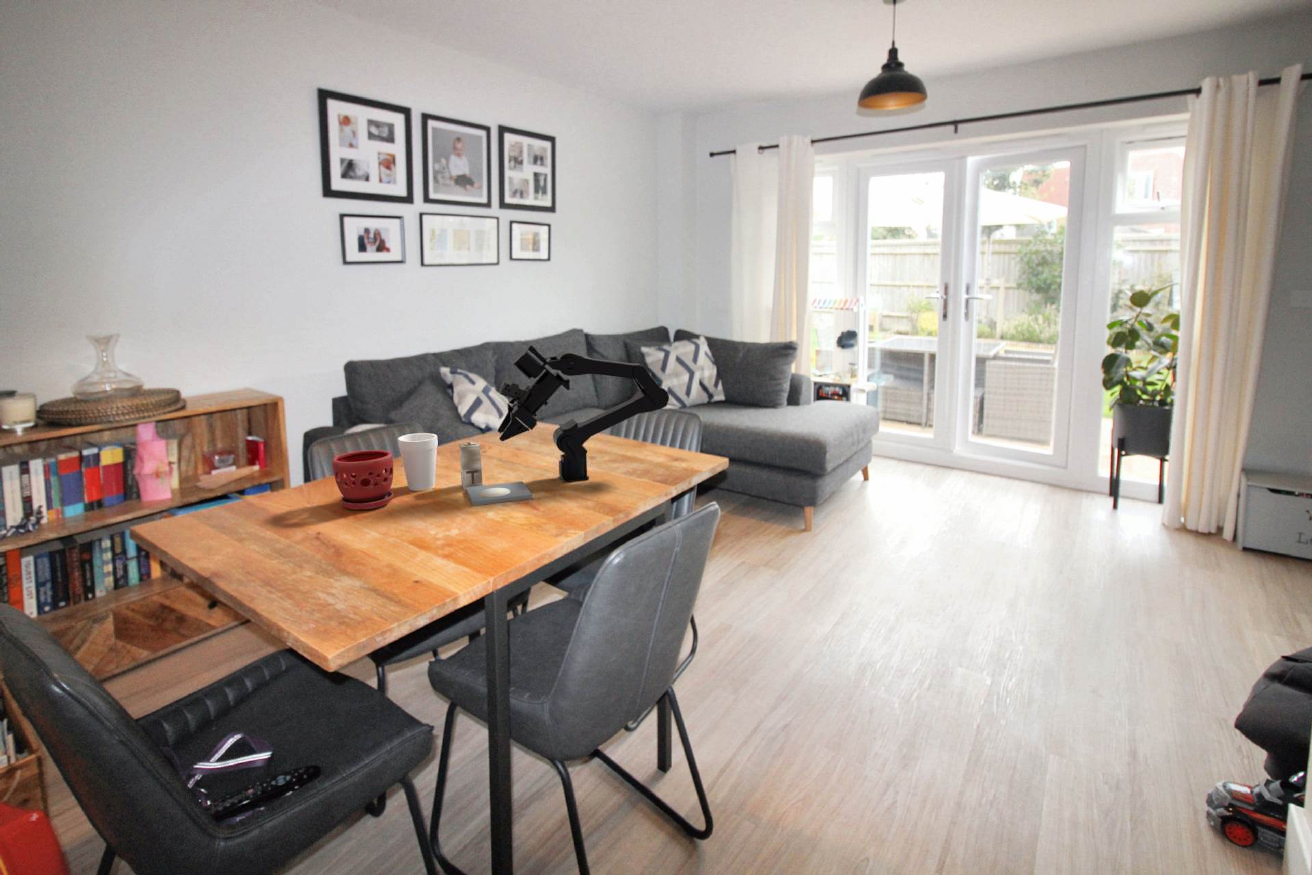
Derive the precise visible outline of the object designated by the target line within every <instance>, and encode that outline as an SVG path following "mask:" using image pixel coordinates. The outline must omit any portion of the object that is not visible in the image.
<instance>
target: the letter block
mask: <svg viewBox="0 0 1312 875" xmlns="http://www.w3.org/2000/svg"><path fill="white" fill-rule="evenodd" d="M458 448H459V461H460V462H459V464H460V478H461V487H462V489H463V490H465V491H466V487H475V486H484V485H483V472H482V471H483V470H482V455H481V454H482V453H481V445H480V443H479V442H478V441H467V442H465V441H464V442H459V443H458Z"/></svg>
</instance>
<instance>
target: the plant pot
mask: <svg viewBox="0 0 1312 875" xmlns="http://www.w3.org/2000/svg"><path fill="white" fill-rule="evenodd" d="M393 460H394V459H393V454H392V452H390V451H388V450H382V449H381V450H379V449H374V450H373V449H372V450H370V449H368V450H367V449H366V450H359V451H353V452H347V453H343V454H339V455H337V456H335V457H334V458H333V459H332V461H331V462H332V470H333V474H334V479H335V480H334V481H335V484H336V486H337V489H338V491H339V492H340V494H341V496H342V497H341V499H340V503H341V505H342V506H343V507H345V508H347V509H351V510H357V511H358V510H370V509H376V508H377V509H378V508H381V507H383V506H385V505H387V504H388V503H390V502H391V501H392V500H393V498H394V493H393V492H392V491H390V490H391V488H392V484H393V480H394V461H393Z"/></svg>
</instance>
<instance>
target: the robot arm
mask: <svg viewBox="0 0 1312 875" xmlns="http://www.w3.org/2000/svg"><path fill="white" fill-rule="evenodd" d="M511 364H512V365H513V367H515V369H516V370H518V371H519V372H520V373H521V374H523V375H524V377H526V378H527V379H528V380H530V379H531V378H533V379H536V380H535V381H534V382H533V383H532V384H529V385H527V386H525V387H522V386H520V385H519V383H515V382H514V381H512V382H511V381H508V380H503V381H502V384H501V387H500V389H499V394H500V395H501V396H504V397H509V399H508V402H507V404H506V406H507V412H506V414H505V416H504V418H503V419H502V421H501V423H500V425H499V427H498V429H497V432H498V433H499V434H501V435H500V436H499V440H500V441H501V442H504V441H507V440H509V439H511V438H514V437H516V436H520V434H523V433H526V432H529V431H530V430H531V431H533V429H535V427H536V426H537V425H538V422H537V416H538V412H539V411H540V410H541V409H542V408H543V407H544V406H545V407H546V406H547V405H548V404H549V400H551V399H552V397H553V396H554V395H556V393H557V392H558V391H559V390H560V388H562V387H563V388H564V389H566V390H567V391H570V389H571V388H570V383H571V380H570V378H564V377H563V376H562V375H561V374H560V373H562V374H563V375H564V376H569V377H570V376H571V377H572V376H573V377H575V376H583V375H584V376H586V375H598V376H599V375H600V376H609V377H617V378H618V377H619V378H625V379H626V378H627V379H632V380H633V382H634V383H635V384H636V386H637V387H638V389H639V391H637V392H636V393H635V395H633V396H632V397H631V398H630V399H628V400H627V401H625V402H622V403H620V404H618V405H615V406H614V407H612V408H609V409H607V410H606V411H603V412H601V413H599V414H597V415H595V416H593V417H590V418H589V419H586V420H584V421H582V422H581V421H580V422H576V420H575V419H574V418H571V419H569V420H568V421H566V422H563V423H561V424H558V426H559V427H557V428H555V430H554V431H553V434H552V440H553V441H552V442H553V443H554V445H555V446H556V447H557V449H558V451H560V452H561V453H563V454H560V460H559V461H558V475H559V477H560V478H561V479H562V481H564V482H567V483H569V482H576V481H577V482H578V481H586V480H589V479H590V476H589V475H588V461H587V460H588V458H587V454H588V450H587V448H586V447H585V446H584V444H585V443H586V442H587V441H588V440H589V439H590V438H591V437H594V436H595V435H598V434H600V433H603V431H606V430H608V429H610V428H612V427H613V426H614V427H615V426H616V425H618V424H620V423H622V422H624V421H626V420H628V419H631V418H632V417H635V416H637V415H640V414H647V413H651V412H655V411H659V410H662V409H664V408H666V407H667V405H668V403H669V401H670V400H669V399H670V397H669V392H668V391H667V390H666V389H665V388H663V387H662V386H659V384H658V383H657V382H656V381H655V379H654V378H653V377H652V376H651V375H650V373H649V372H648V370H647V369H646V367H645V366H644V365H642V364H641V363H637V362H634V363H631V362H630V363H629V362H622V361H615V360H614V361H613V360H607V359H601V358H600V359H598V358H592V357H590V356H586V355H583V354H580V353H576V352H574V351H570V350H562V351H560V352H559V353H557V354H556V355H554V356H547V357H544V356H543V355H542V354H540V352H539V351H537V349H536V348H535V347H534V346H533V345H532V344H529V345H528V346H527V347H526V348H524V349H523V350H522V351H521V352H518V354H517V355H516V356H515V357H514V359H513V360H512V362H511ZM546 366H548V367H549V368H550V369H551V370H555V371H551V370H549V369H548V368H547V367H546ZM558 371H559V372H560V373H559V372H558Z"/></svg>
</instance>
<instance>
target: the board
mask: <svg viewBox="0 0 1312 875" xmlns="http://www.w3.org/2000/svg"><path fill="white" fill-rule="evenodd" d="M465 492H466V494H467V496H468V498H469V500H470V503H471V504H472V506H473V507H474V506H481V505H482V506H483V505H491V504H499V503H506V502H514V501H515V502H517V501H524V500H532V499H533V493H532V492H531V491H530V489H529V488H528V486H526V485H525V483H524V481H521V480H520V481H512V482H502V483H493V484H486V485H485V484H484V485H483V486H475V487H466V490H465Z"/></svg>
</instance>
